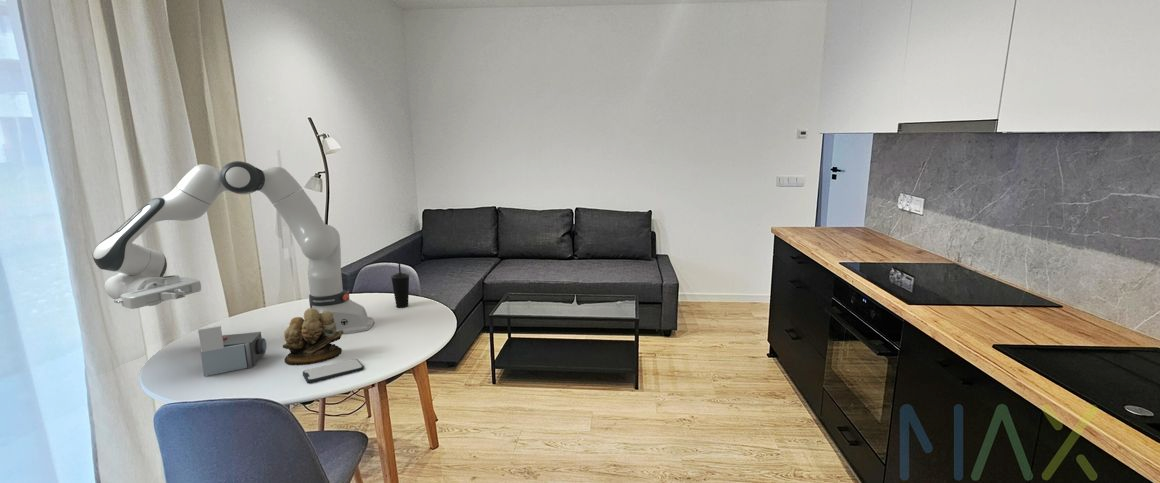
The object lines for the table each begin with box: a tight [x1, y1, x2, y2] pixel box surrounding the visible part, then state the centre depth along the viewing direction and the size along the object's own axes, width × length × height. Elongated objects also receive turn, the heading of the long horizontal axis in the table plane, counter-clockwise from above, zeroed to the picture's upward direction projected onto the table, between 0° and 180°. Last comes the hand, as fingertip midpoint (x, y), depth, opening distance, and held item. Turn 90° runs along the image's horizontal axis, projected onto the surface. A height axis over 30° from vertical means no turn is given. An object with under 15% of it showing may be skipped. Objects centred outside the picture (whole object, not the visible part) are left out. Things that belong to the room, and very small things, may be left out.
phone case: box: [302, 358, 365, 385], centre depth 159 cm, size 9×2×16 cm
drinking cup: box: [390, 260, 411, 309], centre depth 219 cm, size 8×8×20 cm
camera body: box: [222, 331, 267, 368], centre depth 165 cm, size 15×10×9 cm, turn 106°
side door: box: [197, 324, 254, 377], centre depth 158 cm, size 12×1×15 cm, turn 121°
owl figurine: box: [282, 307, 344, 366], centre depth 168 cm, size 18×12×17 cm, turn 119°
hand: (180, 295), depth 156 cm, fingers closed
